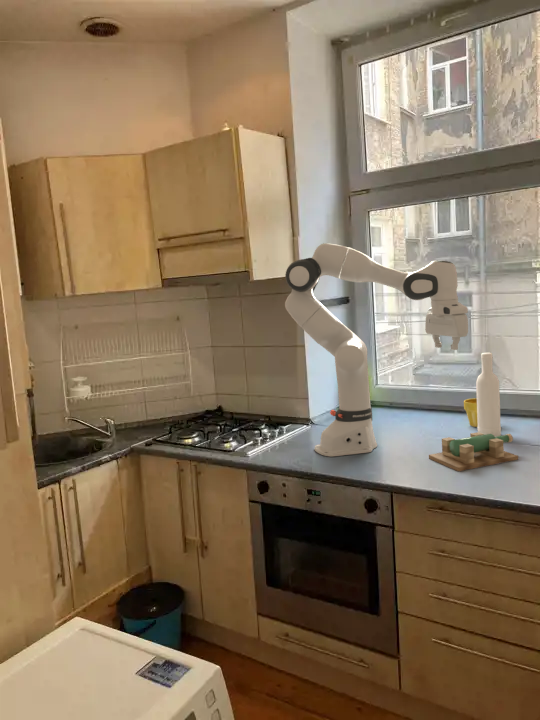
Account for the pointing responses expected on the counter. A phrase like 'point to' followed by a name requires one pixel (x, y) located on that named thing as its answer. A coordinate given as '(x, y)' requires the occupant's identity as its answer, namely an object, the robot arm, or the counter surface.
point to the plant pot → (471, 411)
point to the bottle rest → (472, 455)
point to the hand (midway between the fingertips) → (446, 348)
